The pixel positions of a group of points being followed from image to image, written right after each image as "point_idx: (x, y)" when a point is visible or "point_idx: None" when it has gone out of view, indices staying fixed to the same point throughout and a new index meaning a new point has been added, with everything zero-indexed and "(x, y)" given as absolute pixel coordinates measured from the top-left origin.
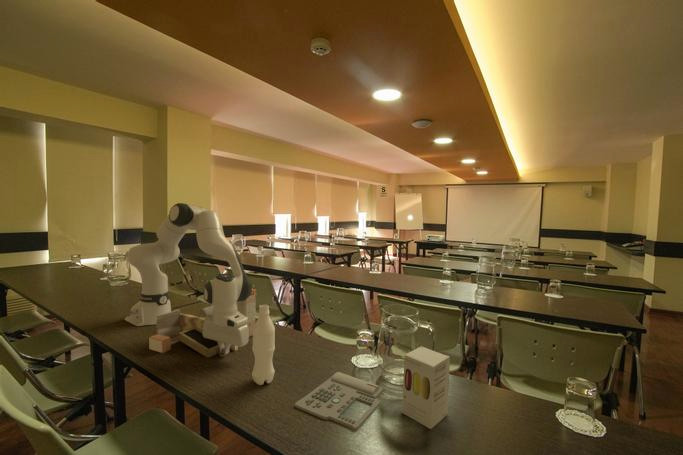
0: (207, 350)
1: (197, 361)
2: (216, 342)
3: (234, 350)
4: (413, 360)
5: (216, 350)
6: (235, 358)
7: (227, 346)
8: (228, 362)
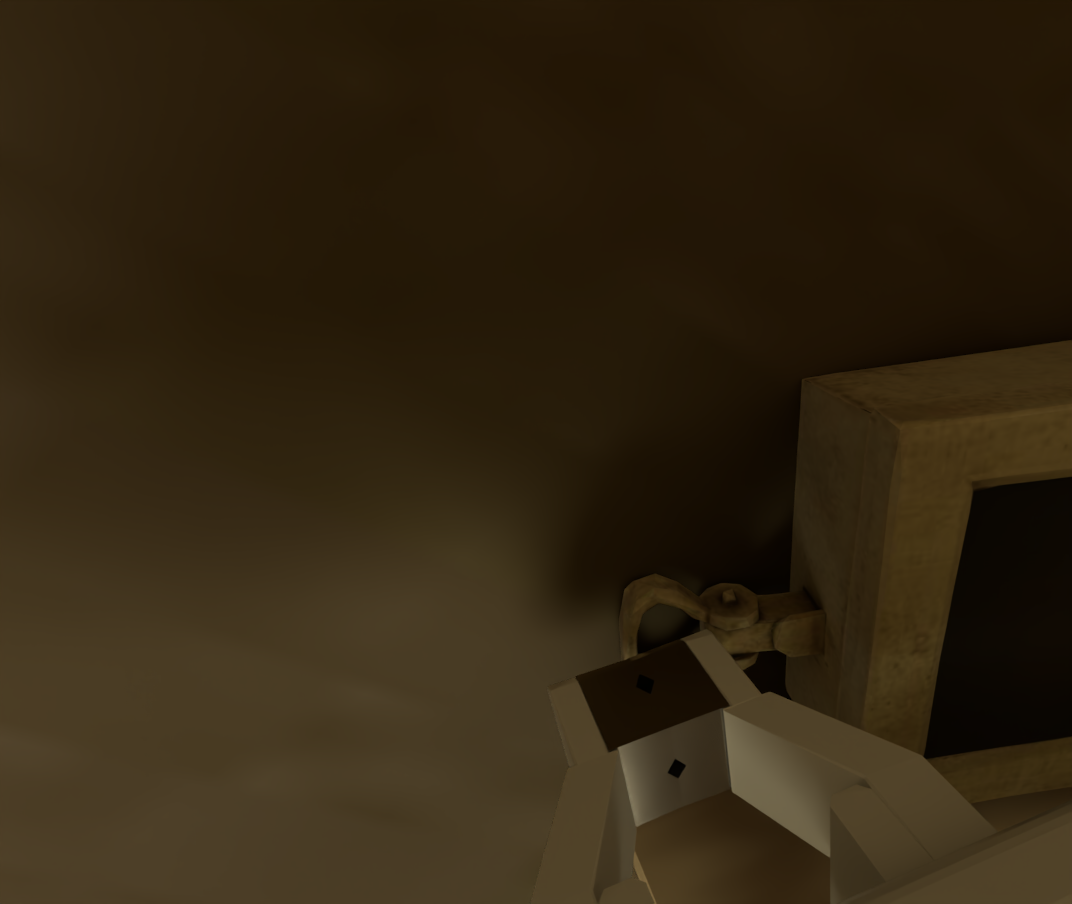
0: (944, 426)
1: (861, 135)
2: (1029, 727)
3: None
4: None
5: (831, 604)
6: (352, 740)
7: (536, 896)
8: (278, 585)
